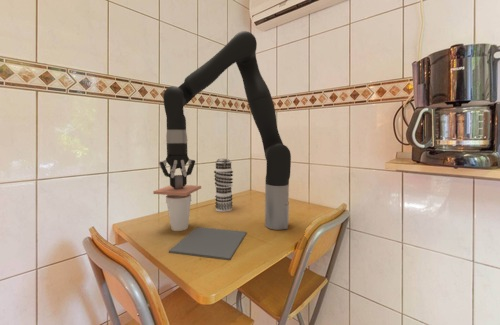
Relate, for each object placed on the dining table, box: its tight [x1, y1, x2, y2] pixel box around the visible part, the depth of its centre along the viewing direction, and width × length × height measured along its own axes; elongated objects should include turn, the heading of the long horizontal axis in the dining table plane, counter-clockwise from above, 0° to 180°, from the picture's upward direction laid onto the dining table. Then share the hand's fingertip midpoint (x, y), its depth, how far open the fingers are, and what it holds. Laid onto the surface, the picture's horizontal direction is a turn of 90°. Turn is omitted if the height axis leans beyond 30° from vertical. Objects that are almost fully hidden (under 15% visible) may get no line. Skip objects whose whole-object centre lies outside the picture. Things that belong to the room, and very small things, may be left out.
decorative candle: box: [213, 158, 234, 213], centre depth 117 cm, size 9×9×25 cm
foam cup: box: [165, 193, 192, 232], centre depth 93 cm, size 10×9×13 cm
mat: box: [168, 226, 247, 261], centre depth 82 cm, size 20×20×1 cm
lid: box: [153, 174, 202, 196], centre depth 92 cm, size 13×13×6 cm
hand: (178, 186), depth 92 cm, fingers closed on lid, 3 cm apart
